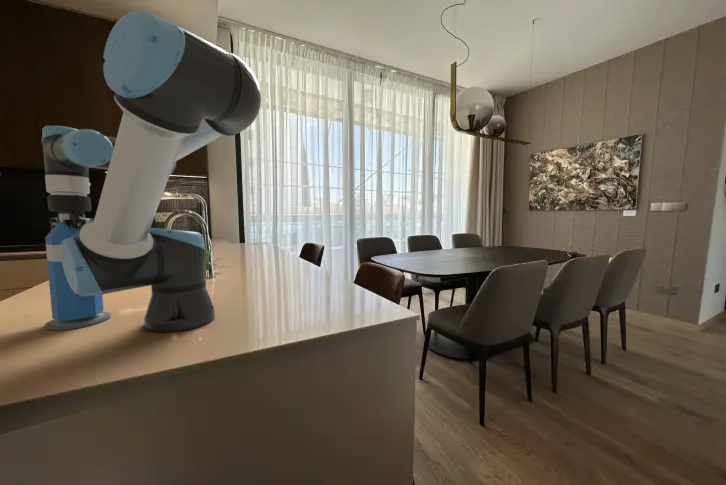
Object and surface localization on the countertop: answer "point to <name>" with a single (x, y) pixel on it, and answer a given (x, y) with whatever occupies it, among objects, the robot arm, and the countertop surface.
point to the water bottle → (61, 294)
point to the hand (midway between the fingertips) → (76, 286)
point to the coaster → (77, 322)
